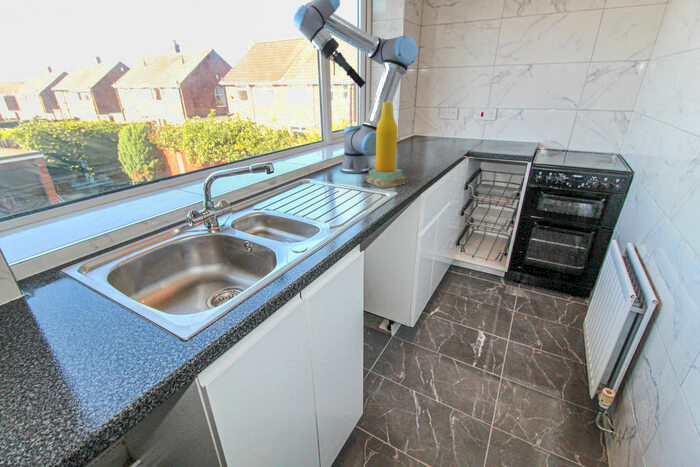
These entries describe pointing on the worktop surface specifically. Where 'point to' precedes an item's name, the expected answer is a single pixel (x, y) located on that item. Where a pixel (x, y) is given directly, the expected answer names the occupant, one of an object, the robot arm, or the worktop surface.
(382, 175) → the top block
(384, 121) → the beer bottle
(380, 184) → the base block
